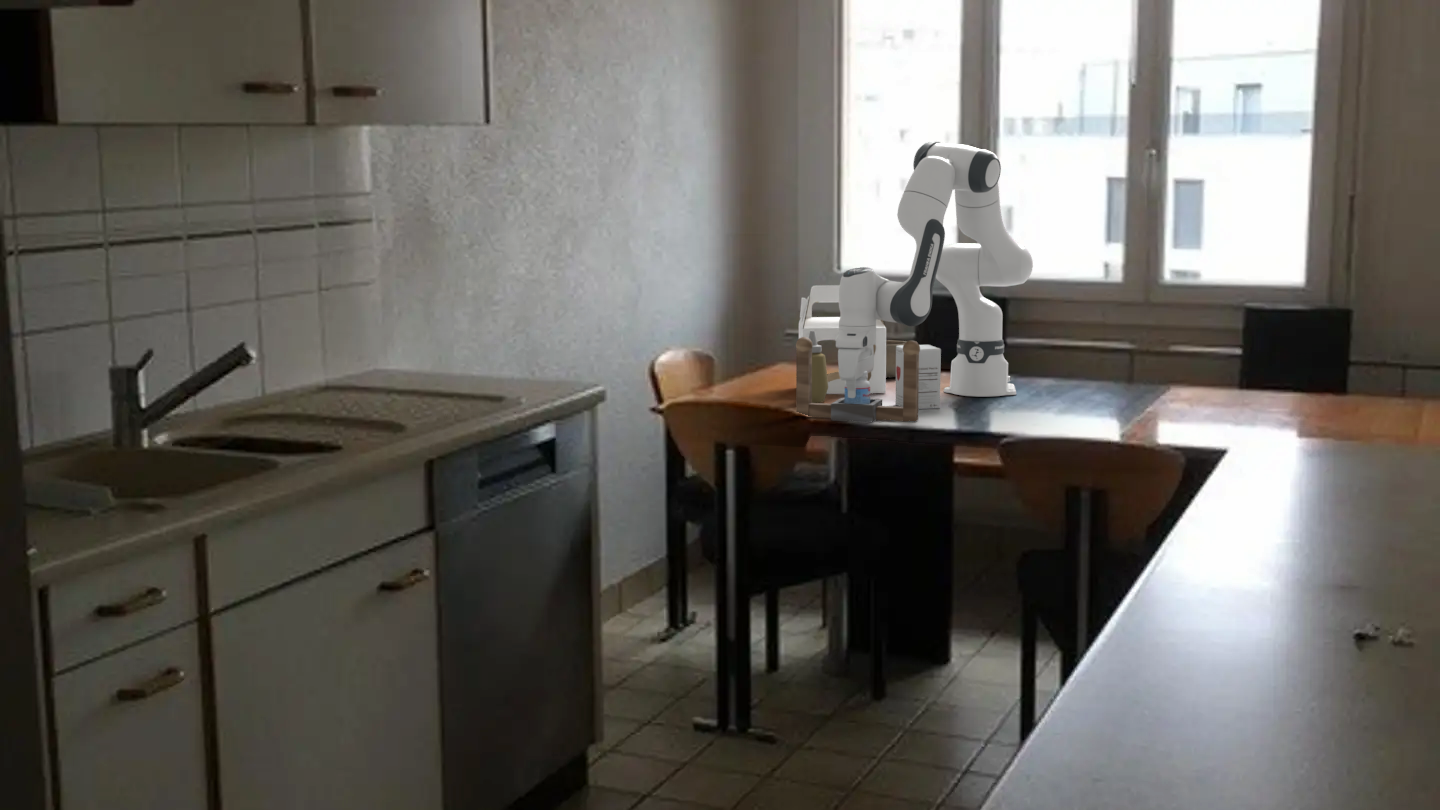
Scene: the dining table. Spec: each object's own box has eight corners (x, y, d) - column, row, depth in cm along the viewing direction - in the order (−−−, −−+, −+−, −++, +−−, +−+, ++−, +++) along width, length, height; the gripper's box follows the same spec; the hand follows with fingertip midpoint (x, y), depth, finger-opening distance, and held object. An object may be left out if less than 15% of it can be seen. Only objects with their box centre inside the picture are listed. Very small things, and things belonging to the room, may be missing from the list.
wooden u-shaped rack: (801, 412, 413) (801, 334, 411) (923, 417, 404) (924, 338, 401) (790, 418, 404) (790, 339, 401) (914, 424, 395) (915, 342, 392)
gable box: (880, 386, 457) (880, 282, 453) (886, 393, 444) (887, 286, 440) (797, 387, 456) (797, 283, 452) (801, 394, 443) (801, 287, 439)
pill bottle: (868, 420, 401) (869, 373, 399) (842, 419, 402) (843, 372, 400) (871, 416, 407) (871, 369, 405) (846, 415, 408) (846, 369, 406)
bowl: (877, 371, 489) (877, 336, 487) (922, 377, 475) (922, 341, 473) (833, 376, 478) (833, 341, 476) (878, 383, 464) (878, 346, 463)
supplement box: (894, 404, 425) (894, 345, 423) (928, 403, 427) (928, 344, 425) (906, 410, 416) (906, 349, 414) (940, 408, 418) (941, 348, 416)
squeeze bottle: (831, 400, 433) (832, 330, 430) (823, 404, 425) (823, 333, 422) (801, 399, 435) (801, 329, 432) (792, 403, 428) (792, 332, 425)
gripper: (855, 331, 412) (854, 388, 414) (833, 341, 393) (833, 400, 395) (880, 332, 410) (880, 389, 412) (860, 342, 391) (859, 401, 393)
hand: (857, 394), depth 403 cm, fingers open, 8 cm apart
